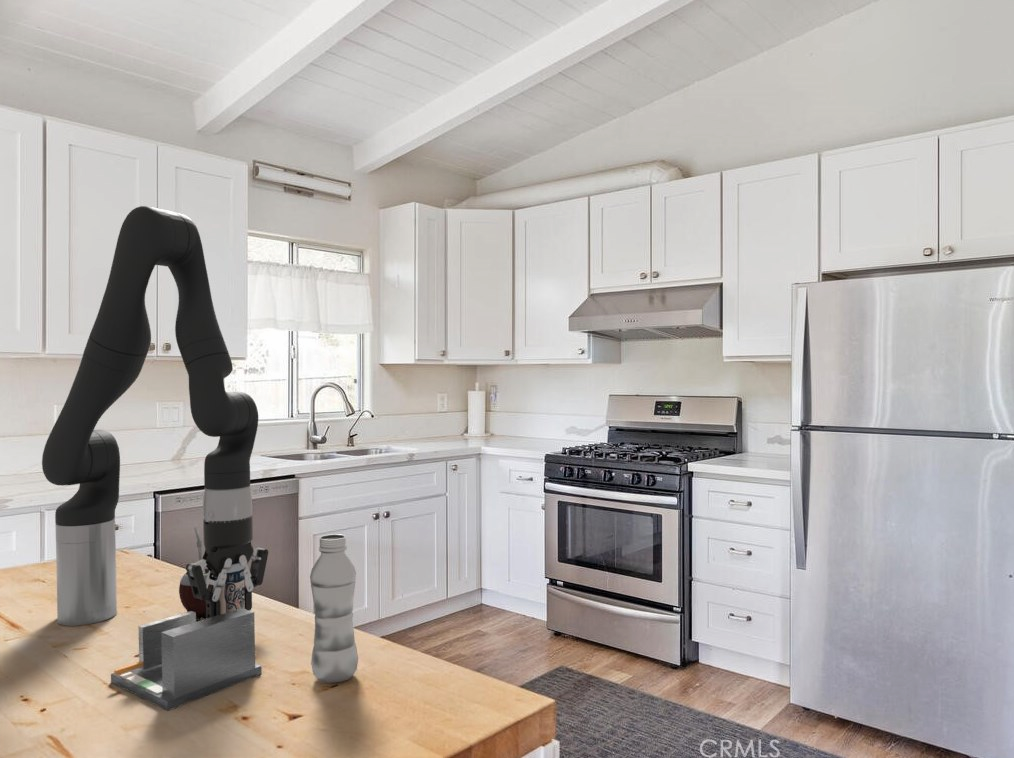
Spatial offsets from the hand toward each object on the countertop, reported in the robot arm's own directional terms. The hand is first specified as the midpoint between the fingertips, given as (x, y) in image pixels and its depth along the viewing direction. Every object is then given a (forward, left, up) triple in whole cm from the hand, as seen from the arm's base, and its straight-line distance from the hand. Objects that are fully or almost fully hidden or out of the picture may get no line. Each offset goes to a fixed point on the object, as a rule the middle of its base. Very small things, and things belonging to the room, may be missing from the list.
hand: (229, 617), depth 122 cm
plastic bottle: (+27, -1, -3) cm, 27 cm away
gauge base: (+10, -13, -3) cm, 17 cm away
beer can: (0, 0, -3) cm, 3 cm away
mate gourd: (-14, +3, -3) cm, 15 cm away
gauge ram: (+5, -15, -2) cm, 16 cm away
